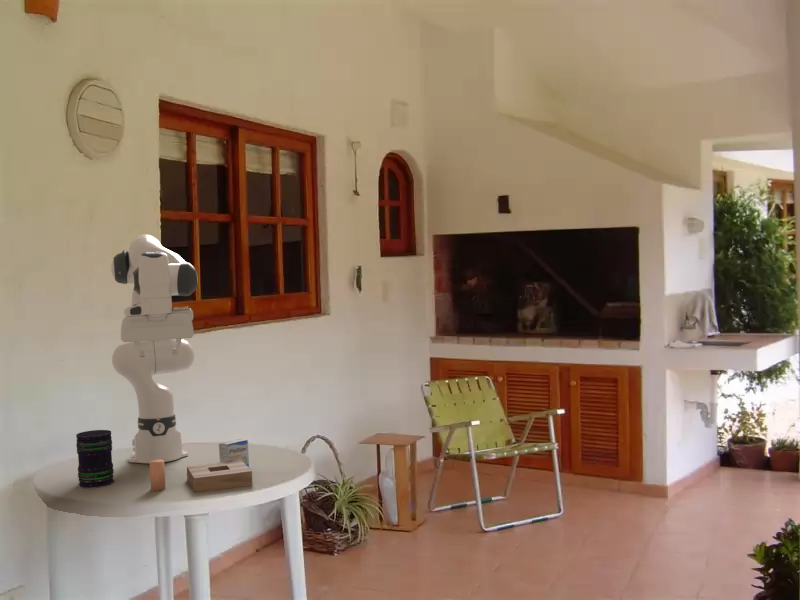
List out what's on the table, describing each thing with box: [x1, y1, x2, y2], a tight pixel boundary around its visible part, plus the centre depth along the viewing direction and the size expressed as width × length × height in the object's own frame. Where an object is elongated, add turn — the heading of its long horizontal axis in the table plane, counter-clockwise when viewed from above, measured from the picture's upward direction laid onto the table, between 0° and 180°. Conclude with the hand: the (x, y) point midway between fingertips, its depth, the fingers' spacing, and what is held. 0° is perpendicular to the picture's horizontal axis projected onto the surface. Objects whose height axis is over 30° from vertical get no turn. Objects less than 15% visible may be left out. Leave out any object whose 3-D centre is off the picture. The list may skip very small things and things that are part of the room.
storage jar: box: [75, 429, 115, 489], centre depth 247 cm, size 10×10×15 cm
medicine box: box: [218, 438, 250, 468], centre depth 259 cm, size 8×4×9 cm, turn 137°
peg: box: [148, 460, 166, 492], centre depth 238 cm, size 4×4×8 cm
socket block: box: [186, 460, 253, 493], centre depth 243 cm, size 16×16×4 cm
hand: (158, 356), depth 242 cm, fingers open, 8 cm apart
